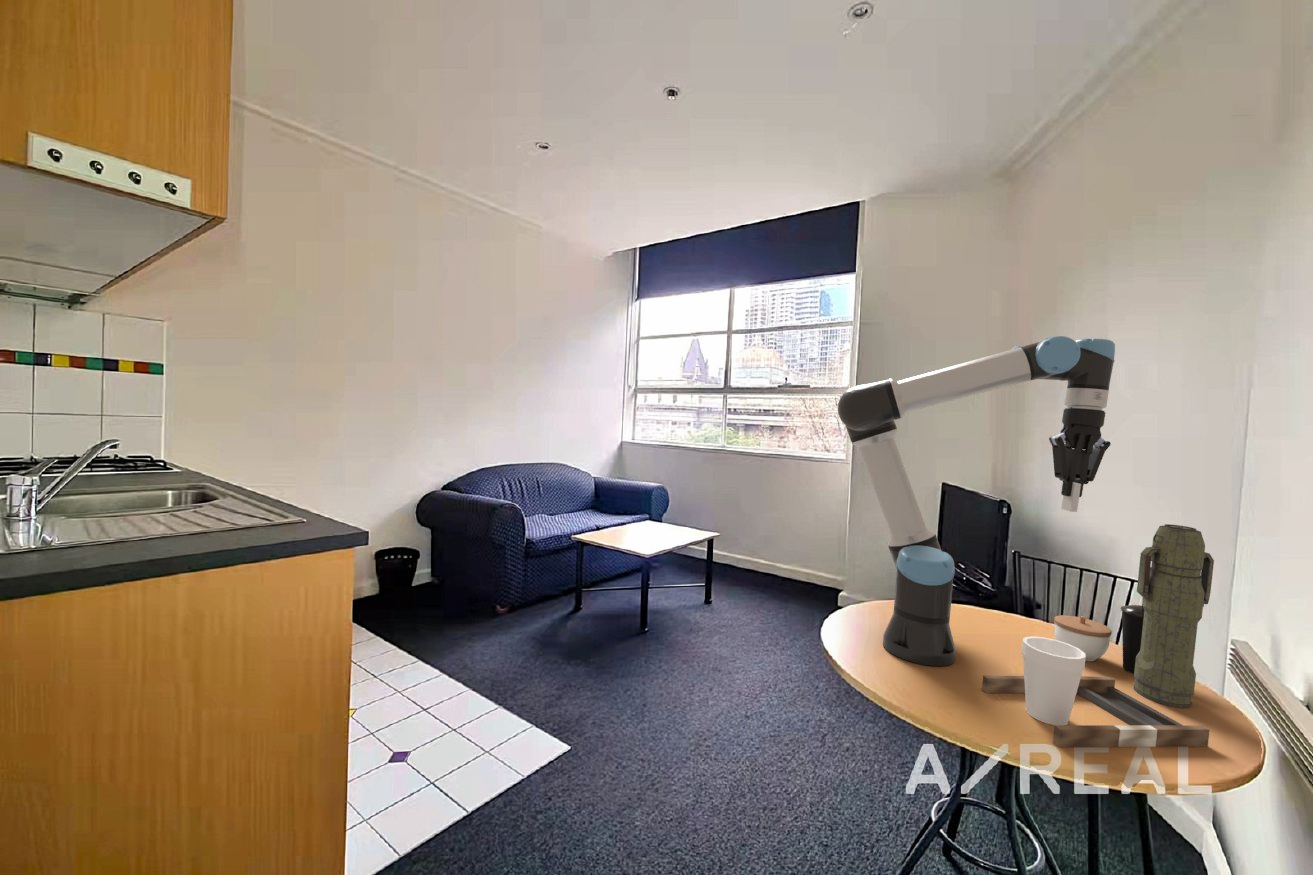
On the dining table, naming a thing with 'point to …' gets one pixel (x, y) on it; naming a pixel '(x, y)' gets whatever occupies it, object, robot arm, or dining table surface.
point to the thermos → (1171, 613)
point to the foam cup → (1051, 678)
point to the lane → (1142, 719)
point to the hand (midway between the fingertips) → (1068, 510)
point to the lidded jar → (1083, 635)
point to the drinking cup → (1131, 634)
